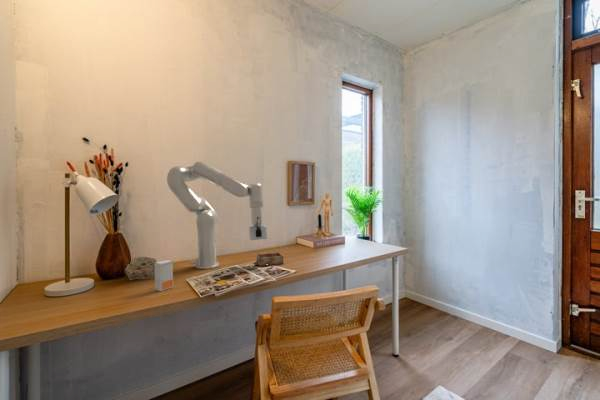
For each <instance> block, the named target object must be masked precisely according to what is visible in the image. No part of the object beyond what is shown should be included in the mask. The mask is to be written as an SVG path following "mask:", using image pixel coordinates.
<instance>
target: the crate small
mask: <svg viewBox="0 0 600 400" xmlns="http://www.w3.org/2000/svg"><path fill="white" fill-rule="evenodd" d="M248 231H249V232H248V233H249V240H250V241H256V240H258V241H259V240H267V239H268V237H267V236H268V235H267V226H266V225H262V224H261V233H262V237H256V226H254V225H252V226H248Z"/></svg>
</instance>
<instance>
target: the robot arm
mask: <svg viewBox="0 0 600 400" xmlns="http://www.w3.org/2000/svg"><path fill="white" fill-rule="evenodd" d="M200 179H202V180H204V181H207V182H208V183H210V184H212V185H214V186H216V187H218V188H220V189H222V190H224V191H226V192H227V193H229V194H232V195H233V196H236V197H238V198H245V197H248V202H249V209H251V210H250V211H251V213H250V215H251V218H250V219H251V225H252V226H256V237H262V233H261V226H262V224H263V223H262V222H263V218H262V208H264V207H263V206H264V205H263V204H264V203H263V189H262V188H263V187H262V184H261V183H251V184H243V183H242V182H240V181H238V180H236V179H233V178H232V177H230V176H229V175H227V173H225V172H224V171H221V170H219V169H217V168H215V167H213V166H211V165H210V164H208V163H206V162H204V161H196V162H195V163H194V164H193V165H191V166H186V167H184V166H178V165H175V166H174V167H172V168H170V169H169V171H168V173H167V176H166V182H167V185H168V188H169V190H170V191H171V192H172V193H173V195H174V196H175V197H176V199H178V201H180V203H181V204H182V205H183V206H184V208H185V209H186V210H187V211H188V212H190V213H194V214H195V215H196V216H197V217H196V220H195V221H196V222H195V223H196V230H197V253H198V254H197V255H198V256H197V259H190V261H189V264H190V265H191V264H192V265H195V268H196V269H199V270H208V269H213V268H217V267H218V266H220V262H218V261H217V244H216V240H217V239H216V227H215V224H216V223H217V222H218V219H219V217H218V216H219V215H218V214H217V212H216V211H215V210H214V208H213V207H212V206H211V205H210V204H209V202H208V201H207V200H206V199H205V198H204V197H203V196H201V195H197V194H195V192H194V191H193V190H192V189H191V188H190V187H189V186H188V185H187V183H188V182H192V181H196V180H200Z"/></svg>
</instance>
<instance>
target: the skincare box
mask: <svg viewBox="0 0 600 400" xmlns="http://www.w3.org/2000/svg"><path fill="white" fill-rule="evenodd" d="M173 263H174V261H173V260H169V259H165V260H162V261H161V260H160V261H158V262H157V261H156V263H155V278H154V291H158V292H163V291H166V290H169V289H173V288H174V264H173Z"/></svg>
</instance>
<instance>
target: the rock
mask: <svg viewBox="0 0 600 400" xmlns="http://www.w3.org/2000/svg"><path fill="white" fill-rule="evenodd" d="M130 261H131V262H130V264H128V265H127V264H126V265H127V267H126V268H125V269H124V274H125V275H127V277H128V280H129V281H133V280H155V263H156V262H157V261H156V259H155V258H154V257H147V256H136V257H134V258H132V259H131V260H130Z"/></svg>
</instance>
